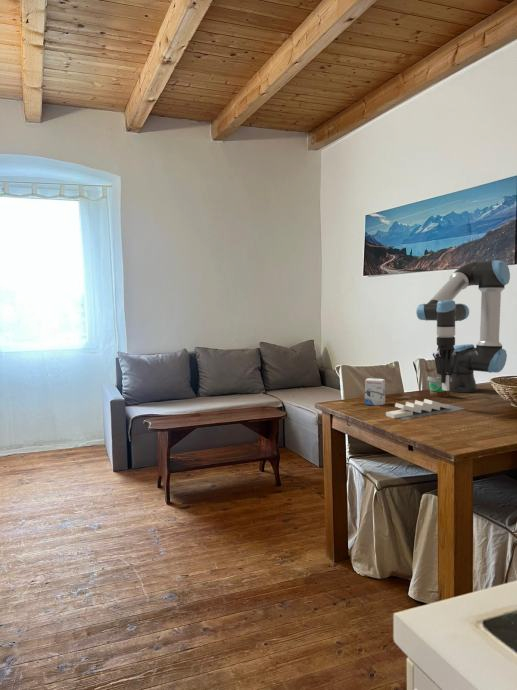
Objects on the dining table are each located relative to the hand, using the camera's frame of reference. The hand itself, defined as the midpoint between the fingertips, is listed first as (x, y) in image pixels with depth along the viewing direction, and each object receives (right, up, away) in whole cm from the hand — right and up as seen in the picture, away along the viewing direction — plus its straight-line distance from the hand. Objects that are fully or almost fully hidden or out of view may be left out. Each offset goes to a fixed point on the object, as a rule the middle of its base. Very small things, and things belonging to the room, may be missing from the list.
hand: (445, 390), depth 228 cm
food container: (+5, -6, +25) cm, 26 cm away
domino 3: (-9, -8, -4) cm, 13 cm away
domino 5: (0, -7, +1) cm, 7 cm away
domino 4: (-5, -7, -2) cm, 9 cm away
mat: (-10, -9, -4) cm, 14 cm away
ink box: (-28, -8, +14) cm, 32 cm away
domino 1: (-18, -9, -8) cm, 22 cm away
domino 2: (-14, -8, -6) cm, 18 cm away
